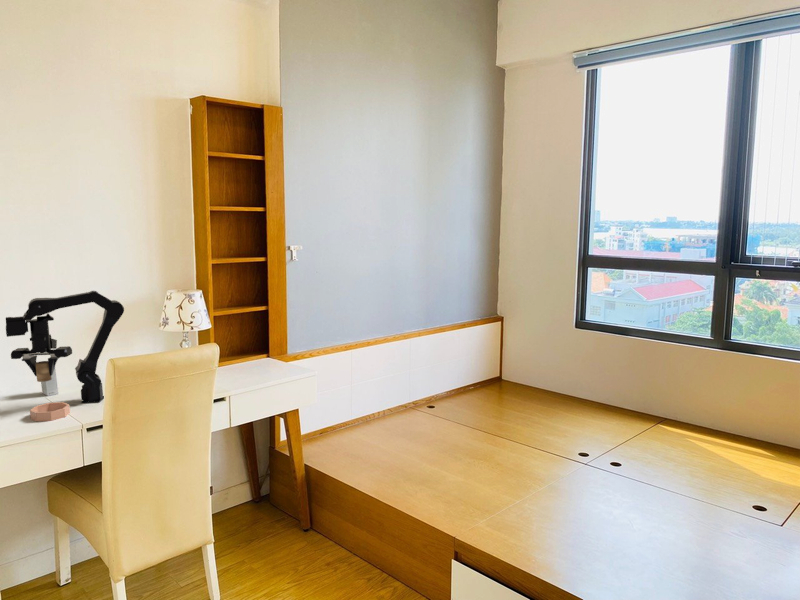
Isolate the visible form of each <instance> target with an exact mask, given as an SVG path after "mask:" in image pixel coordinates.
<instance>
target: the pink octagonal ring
mask: <svg viewBox="0 0 800 600" xmlns="http://www.w3.org/2000/svg"><path fill="white" fill-rule="evenodd" d="M29 413H30V419H31V421H32V420H33V421H35V422H48V421H49V422H50V421H55V420H59V419H63V418H65V417H67V416H68V415H69V414H71V409H70V404H69V403H67V402H63V401H58V402H47V403H43V404H38V405H35V406H34V407H32V408H31V409H29Z"/></svg>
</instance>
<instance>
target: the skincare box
mask: <svg viewBox="0 0 800 600" xmlns="http://www.w3.org/2000/svg"><path fill="white" fill-rule="evenodd" d="M51 377H52V379H51V380H49V381H44V382H40V383H41V392H42V394H43V395H45V396H47V397H48V396H49V397H50V396H54V395H55V396H56V395H58V394H59V387H58V379H57V369H56V367H55V368H54V371H53V375H52V376H51Z"/></svg>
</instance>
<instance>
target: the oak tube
mask: <svg viewBox="0 0 800 600" xmlns="http://www.w3.org/2000/svg"><path fill="white" fill-rule="evenodd" d="M35 364H36V374H37V376H36V382H38V383H39V382H40V383H41V382H44V381H49V380H51V379H52V377H51V376H50V373H49V365H48V360H42V361H41V360H40V361H36V363H35Z"/></svg>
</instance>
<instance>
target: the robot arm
mask: <svg viewBox="0 0 800 600" xmlns="http://www.w3.org/2000/svg"><path fill="white" fill-rule="evenodd" d="M91 303H93V304H96V305H97V306H99V307H100V308H102V309H104V311H103V315H102V322H101V324H100V326H99V329H98V331H97V333H96V335H95V338H94V340H93V342H92V344H91V346H90V349H89V350H88V353H87V355H86V356H85V358H84V359H81V358H79V360H78V364H77V365H76V366H75V368H74V370H75V375H76V378H77V380H78V381H79V382H80V383H81V384H82V385H81V389H80V397H81V402H80V403H82V404H89V403H90V404H91V403H100V402H101V401H103V399H105V398H104V396H105V395H104V391H103V383H102V380H101V378H100V376H99V374H97V373H96V372H97V371H96V370H97V367H98V360H99V359H100V356H101V354H102V353H103V350H104V347H105V345H106V344H107V343H106V342H107V341H108V338H109V336H110V335H111V332H112V330H113V327H114V326H115V325H116V323H118V321H119V320H120V319H121V318H122V316H123V314H124V311H125V308H124V306H123V304H122V303H121V302H120V301H118V300H116V299H113V300H111V299H109V298H108V297H106V296H104V295H102V294H100V293H99V291H97V290H91V291H88V292H87V291H86V292H82V293H76V294H70V295H65V296H59V297H35V298H32V299H31V300H30V301H29V302H28V304H27V307H28V308H27V310H26V311H25V312H24V314H23V315H22V316H15V317H13V316H6V317H5V333H6V334H5V335H6V337H8V338H9V337H19V336H25V335H26V334H27V333H28V332H29V331H30V338H29V342H31V349H30V348H29V347H18V348H15V349H14V350H12V351H11V352H10V359H11V360H17V359H18V360H19V359H21V361H22V362H24V363H25V364H26V365H27V366H28V367H29V369H30V370H31V372H32V374H34V376H35V377H37V374H36V364H35V363H37V358H38V356H50V357H48V358H47V361H48V365H49V373H50V376H52V375H53V371H54V368H55V369H56V364H57V362H58V360H59V359H60V358H68V357H69V356H71V355H72V354H73V348H72V347H71V346H68V345H67V346H59V347H57V344H58V340H57V339H54V338H52V335H51V334H50V327H49V322H50V321H54V320H55V318H54V316H52V315H50V313H52V312H54V311H56V310H60V309H64V308H68V307H69V308H70V307H75V306H81V305H85V304H91ZM35 317H36V318H35ZM28 323H29V325H28ZM29 327H30V328H29ZM29 329H30V330H29Z"/></svg>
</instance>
